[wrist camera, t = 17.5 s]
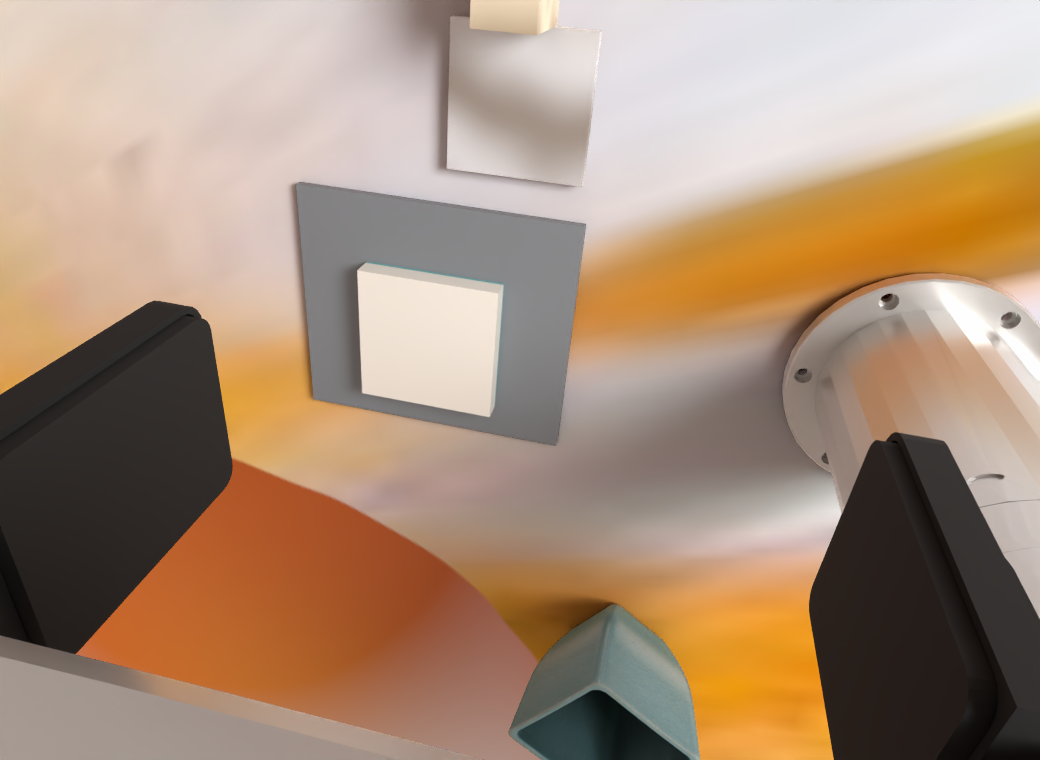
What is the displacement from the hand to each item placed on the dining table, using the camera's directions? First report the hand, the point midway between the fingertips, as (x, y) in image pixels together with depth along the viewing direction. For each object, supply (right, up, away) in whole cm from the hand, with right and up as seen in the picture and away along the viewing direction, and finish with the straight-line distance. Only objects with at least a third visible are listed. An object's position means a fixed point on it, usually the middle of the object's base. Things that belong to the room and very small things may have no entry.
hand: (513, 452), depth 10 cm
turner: (+1, +19, +22) cm, 29 cm away
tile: (-5, +7, +29) cm, 31 cm away
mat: (-5, +5, +32) cm, 33 cm away
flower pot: (+7, -17, +42) cm, 46 cm away
